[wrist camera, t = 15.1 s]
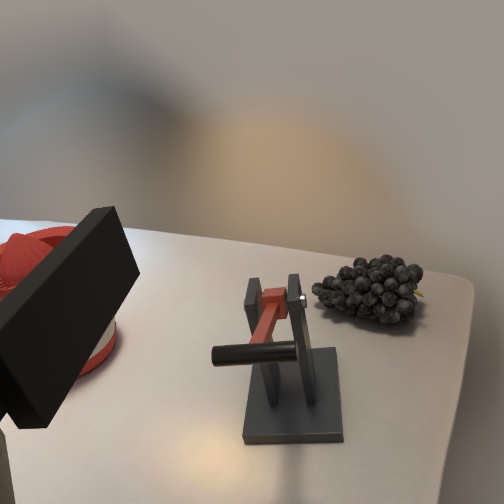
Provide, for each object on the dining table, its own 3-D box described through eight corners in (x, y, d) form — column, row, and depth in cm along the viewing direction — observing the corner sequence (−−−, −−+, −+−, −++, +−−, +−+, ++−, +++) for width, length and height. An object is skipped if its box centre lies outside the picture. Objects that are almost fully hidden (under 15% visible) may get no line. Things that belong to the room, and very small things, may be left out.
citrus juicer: (-7, 415, 55) (-99, 287, 45) (48, 327, 70) (-13, 218, 60) (110, 397, 54) (40, 262, 44) (140, 312, 69) (93, 197, 59)
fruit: (298, 257, 56) (421, 266, 48) (322, 244, 63) (432, 250, 55) (300, 320, 58) (418, 338, 50) (323, 301, 65) (430, 314, 57)
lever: (298, 371, 29) (294, 338, 29) (214, 376, 30) (209, 344, 30) (308, 308, 43) (305, 285, 43) (249, 313, 44) (246, 290, 44)
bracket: (343, 441, 42) (327, 325, 35) (244, 444, 44) (209, 334, 37) (336, 354, 52) (322, 250, 45) (256, 359, 54) (231, 261, 47)
